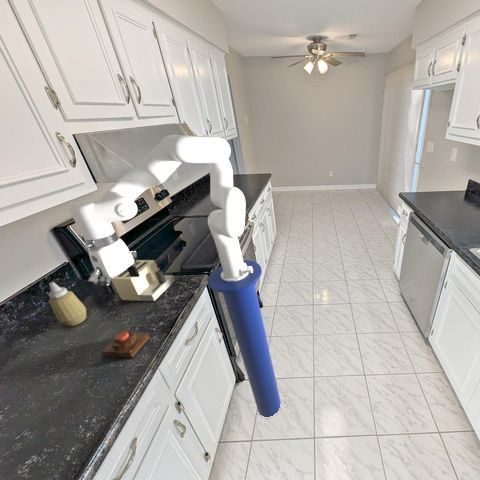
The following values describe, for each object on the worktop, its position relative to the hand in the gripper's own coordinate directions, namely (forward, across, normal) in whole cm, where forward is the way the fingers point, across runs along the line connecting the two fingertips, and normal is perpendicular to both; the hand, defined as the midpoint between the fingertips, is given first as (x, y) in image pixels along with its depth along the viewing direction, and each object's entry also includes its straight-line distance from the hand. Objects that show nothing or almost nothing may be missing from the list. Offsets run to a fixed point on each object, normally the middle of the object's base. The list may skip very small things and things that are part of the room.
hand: (124, 284), depth 86 cm
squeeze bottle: (+17, -2, +27) cm, 32 cm away
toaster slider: (+13, +20, +5) cm, 24 cm away
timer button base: (+17, -11, -4) cm, 20 cm away
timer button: (+13, -11, -3) cm, 17 cm away
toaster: (+17, +18, +11) cm, 27 cm away
